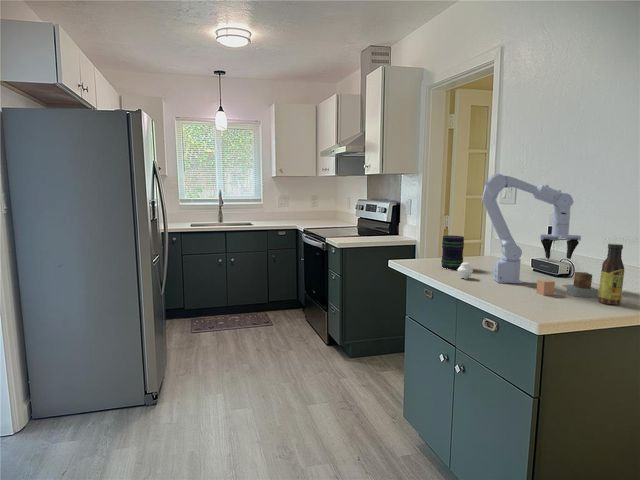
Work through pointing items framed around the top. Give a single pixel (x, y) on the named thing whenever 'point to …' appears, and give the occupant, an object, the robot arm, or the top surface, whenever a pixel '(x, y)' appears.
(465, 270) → the white rounded piece
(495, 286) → the top surface
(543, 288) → the terracotta block
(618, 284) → the sauce bottle
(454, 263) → the storage jar
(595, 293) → the pedestal block
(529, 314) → the top surface
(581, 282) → the walnut block
